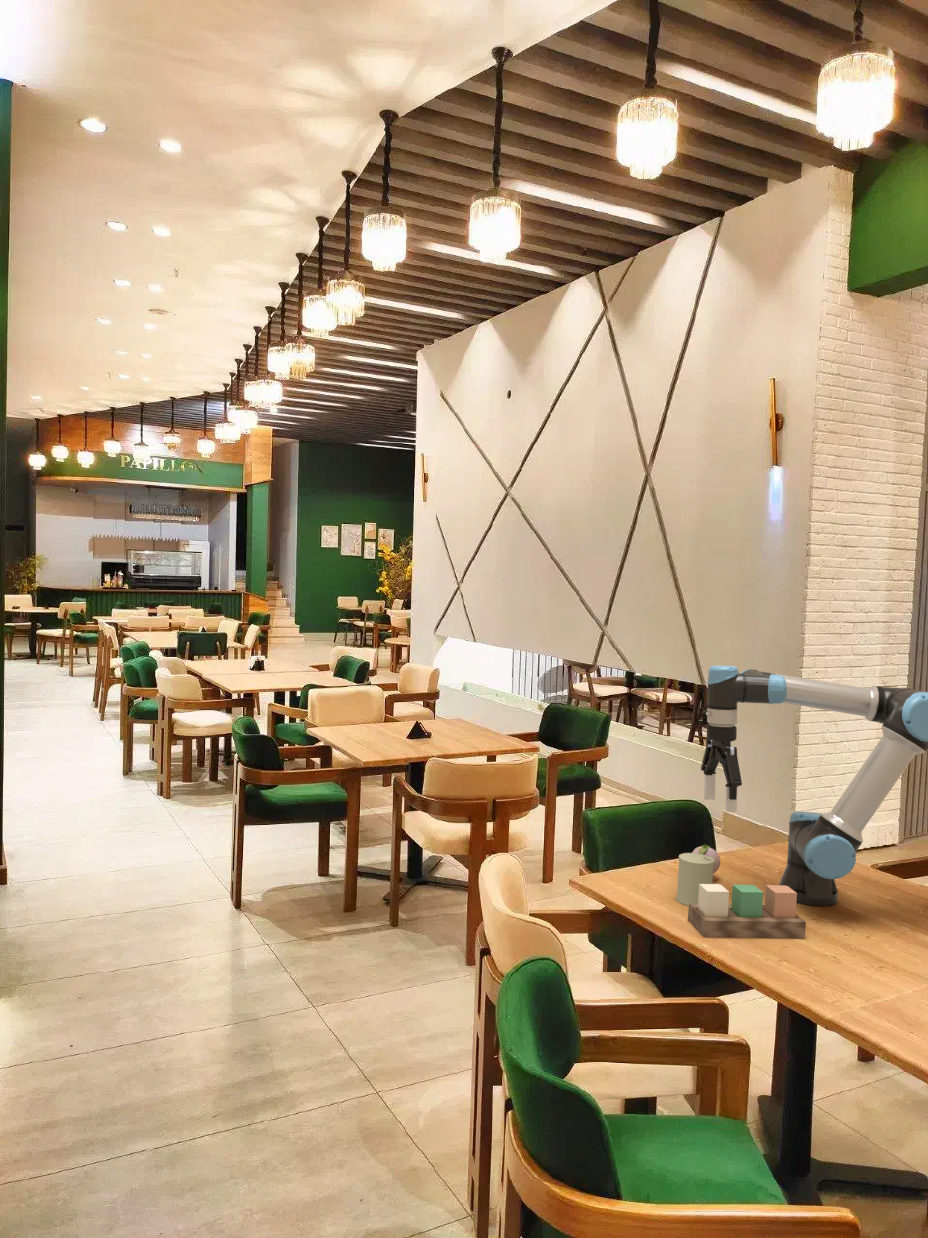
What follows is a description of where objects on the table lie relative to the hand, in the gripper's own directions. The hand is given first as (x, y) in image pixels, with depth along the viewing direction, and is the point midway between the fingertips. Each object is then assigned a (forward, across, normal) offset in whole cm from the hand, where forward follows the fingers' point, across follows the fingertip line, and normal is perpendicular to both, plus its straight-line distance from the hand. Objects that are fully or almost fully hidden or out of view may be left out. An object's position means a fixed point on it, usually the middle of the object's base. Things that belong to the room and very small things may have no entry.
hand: (719, 805), depth 232 cm
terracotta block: (+24, +17, +8) cm, 30 cm away
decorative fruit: (+26, -21, +5) cm, 34 cm away
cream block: (+23, +17, -9) cm, 30 cm away
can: (+26, -2, -6) cm, 27 cm away
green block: (+23, +17, 0) cm, 29 cm away
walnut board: (+26, +17, 0) cm, 31 cm away
